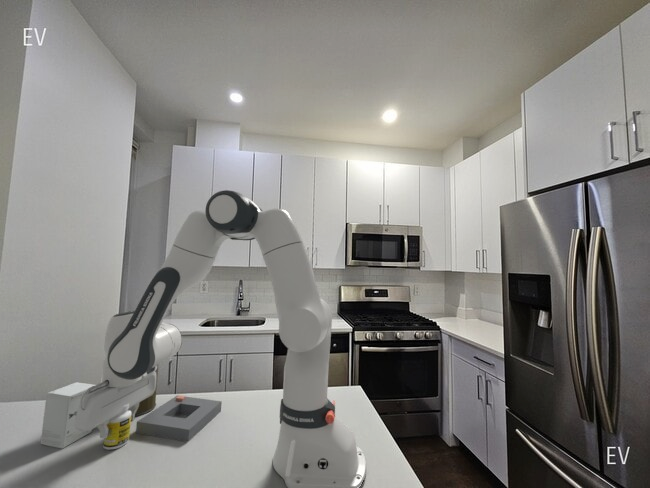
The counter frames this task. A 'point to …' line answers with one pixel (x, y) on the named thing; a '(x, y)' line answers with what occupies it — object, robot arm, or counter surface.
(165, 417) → the socket block
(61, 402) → the supplement box
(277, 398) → the counter surface
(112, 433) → the supplement bottle
